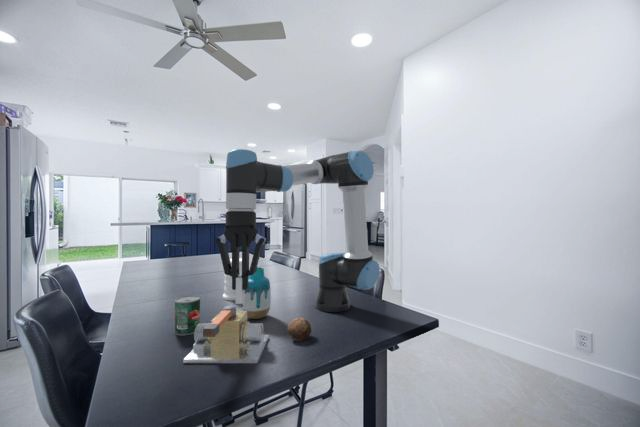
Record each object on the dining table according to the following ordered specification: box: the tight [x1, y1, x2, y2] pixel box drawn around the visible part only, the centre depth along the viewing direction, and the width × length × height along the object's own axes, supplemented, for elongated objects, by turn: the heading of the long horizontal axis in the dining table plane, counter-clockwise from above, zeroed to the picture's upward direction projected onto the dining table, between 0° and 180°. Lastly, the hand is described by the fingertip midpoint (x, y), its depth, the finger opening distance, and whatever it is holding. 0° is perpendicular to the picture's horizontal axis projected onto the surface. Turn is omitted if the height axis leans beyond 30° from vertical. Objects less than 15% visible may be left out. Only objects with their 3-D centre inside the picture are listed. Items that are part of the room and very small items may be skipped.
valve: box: [182, 310, 269, 364], centre depth 80 cm, size 20×15×10 cm
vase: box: [242, 266, 272, 320], centre depth 105 cm, size 11×11×19 cm
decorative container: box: [222, 257, 242, 301], centre depth 133 cm, size 12×12×18 cm
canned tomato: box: [174, 295, 201, 337], centre depth 94 cm, size 8×8×11 cm
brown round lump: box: [286, 317, 312, 342], centre depth 89 cm, size 8×8×6 cm
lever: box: [203, 305, 237, 337], centre depth 74 cm, size 17×4×2 cm, turn 0°
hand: (240, 302), depth 70 cm, fingers closed
